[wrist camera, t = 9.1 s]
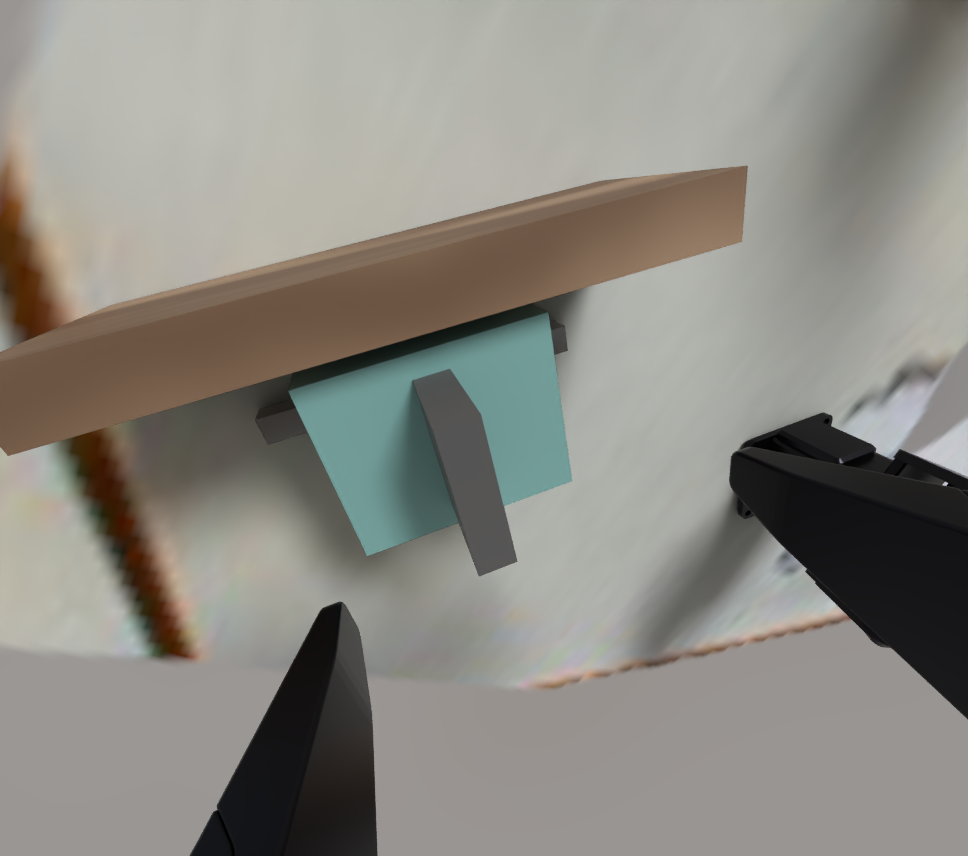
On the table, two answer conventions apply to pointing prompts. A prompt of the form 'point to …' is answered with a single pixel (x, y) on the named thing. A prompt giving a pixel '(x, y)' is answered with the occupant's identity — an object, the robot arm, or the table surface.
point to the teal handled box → (441, 431)
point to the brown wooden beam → (353, 303)
